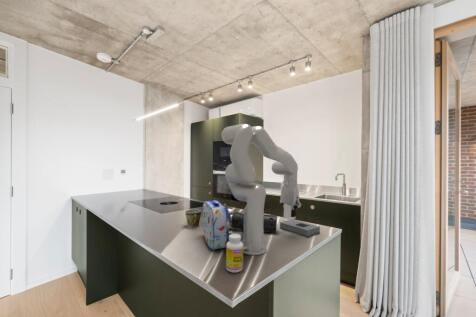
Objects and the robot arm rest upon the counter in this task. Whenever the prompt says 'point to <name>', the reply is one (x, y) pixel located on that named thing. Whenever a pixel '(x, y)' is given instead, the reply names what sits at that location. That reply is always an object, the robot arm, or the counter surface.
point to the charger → (288, 211)
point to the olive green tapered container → (193, 218)
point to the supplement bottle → (234, 253)
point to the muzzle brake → (238, 221)
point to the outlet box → (300, 228)
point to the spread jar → (229, 218)
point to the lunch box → (215, 224)
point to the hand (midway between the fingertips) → (289, 215)
